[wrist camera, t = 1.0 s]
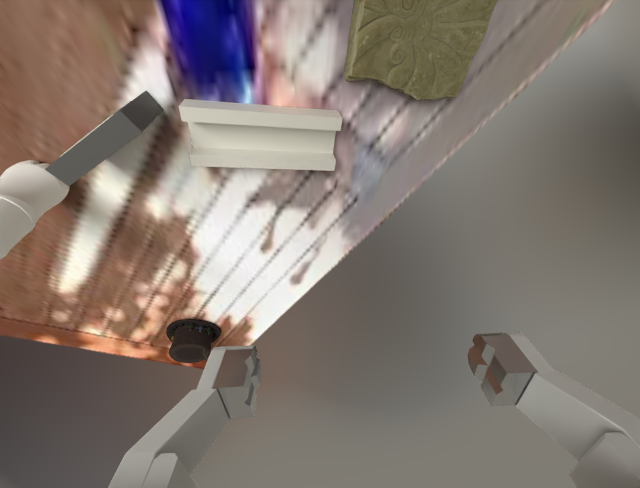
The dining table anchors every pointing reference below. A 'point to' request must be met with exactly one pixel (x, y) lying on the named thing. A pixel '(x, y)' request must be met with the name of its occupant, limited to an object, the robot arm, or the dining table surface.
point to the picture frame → (105, 139)
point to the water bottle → (26, 200)
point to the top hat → (191, 340)
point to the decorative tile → (416, 43)
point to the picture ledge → (260, 135)
